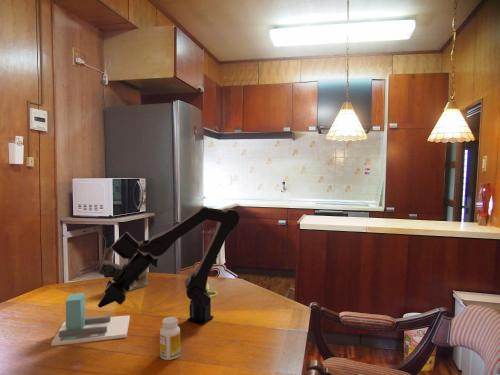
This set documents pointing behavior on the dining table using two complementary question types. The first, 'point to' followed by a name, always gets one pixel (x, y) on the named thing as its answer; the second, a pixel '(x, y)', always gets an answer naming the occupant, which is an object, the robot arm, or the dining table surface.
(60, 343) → the white rail base plate
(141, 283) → the coffee box
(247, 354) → the dining table surface
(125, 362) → the dining table surface
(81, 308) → the switch tab
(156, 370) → the dining table surface
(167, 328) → the supplement bottle
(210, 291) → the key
